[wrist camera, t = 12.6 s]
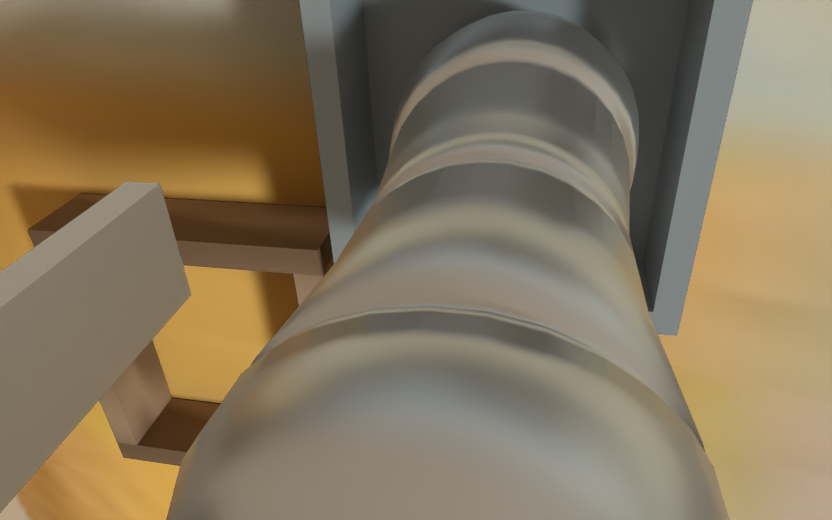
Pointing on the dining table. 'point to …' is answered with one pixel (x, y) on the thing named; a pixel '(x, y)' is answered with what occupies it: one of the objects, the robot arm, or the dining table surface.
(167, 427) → the walnut collar
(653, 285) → the grey tray
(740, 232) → the dining table surface
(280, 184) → the dining table surface
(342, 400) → the silver metal bottle
